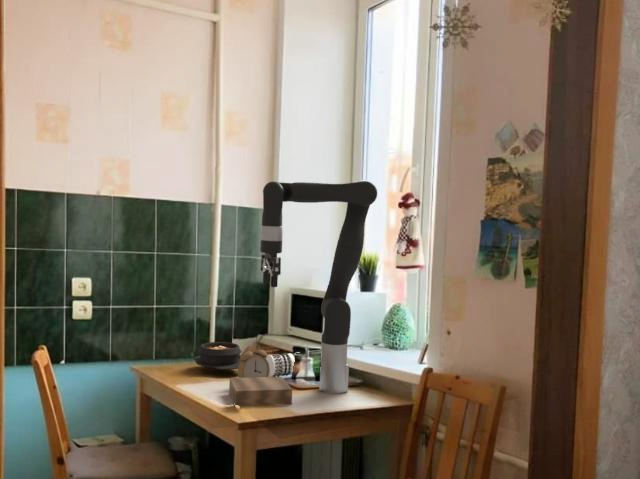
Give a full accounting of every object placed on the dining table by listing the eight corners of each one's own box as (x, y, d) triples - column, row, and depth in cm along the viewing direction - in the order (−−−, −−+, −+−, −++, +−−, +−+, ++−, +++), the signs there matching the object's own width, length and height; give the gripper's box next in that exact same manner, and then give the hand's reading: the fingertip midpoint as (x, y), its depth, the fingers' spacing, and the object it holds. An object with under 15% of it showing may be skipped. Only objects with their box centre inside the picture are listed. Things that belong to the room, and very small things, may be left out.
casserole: (257, 370, 264) (257, 348, 263) (215, 376, 252) (216, 354, 251) (222, 357, 283) (223, 337, 282) (182, 363, 271) (183, 342, 270)
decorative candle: (263, 357, 259) (322, 352, 270) (267, 381, 255) (327, 375, 267) (271, 349, 252) (331, 345, 263) (275, 374, 248) (336, 368, 259)
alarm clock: (242, 390, 235) (243, 347, 234) (235, 386, 239) (236, 344, 238) (270, 385, 242) (271, 344, 241) (262, 382, 246) (264, 341, 245)
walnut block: (281, 393, 234) (282, 376, 233) (291, 407, 218) (292, 389, 218) (229, 395, 229) (229, 378, 229) (235, 409, 213) (236, 391, 213)
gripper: (288, 240, 231) (287, 288, 232) (274, 238, 244) (273, 283, 245) (267, 240, 228) (266, 288, 229) (254, 237, 241) (253, 283, 242)
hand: (269, 285), depth 237 cm, fingers open, 8 cm apart
